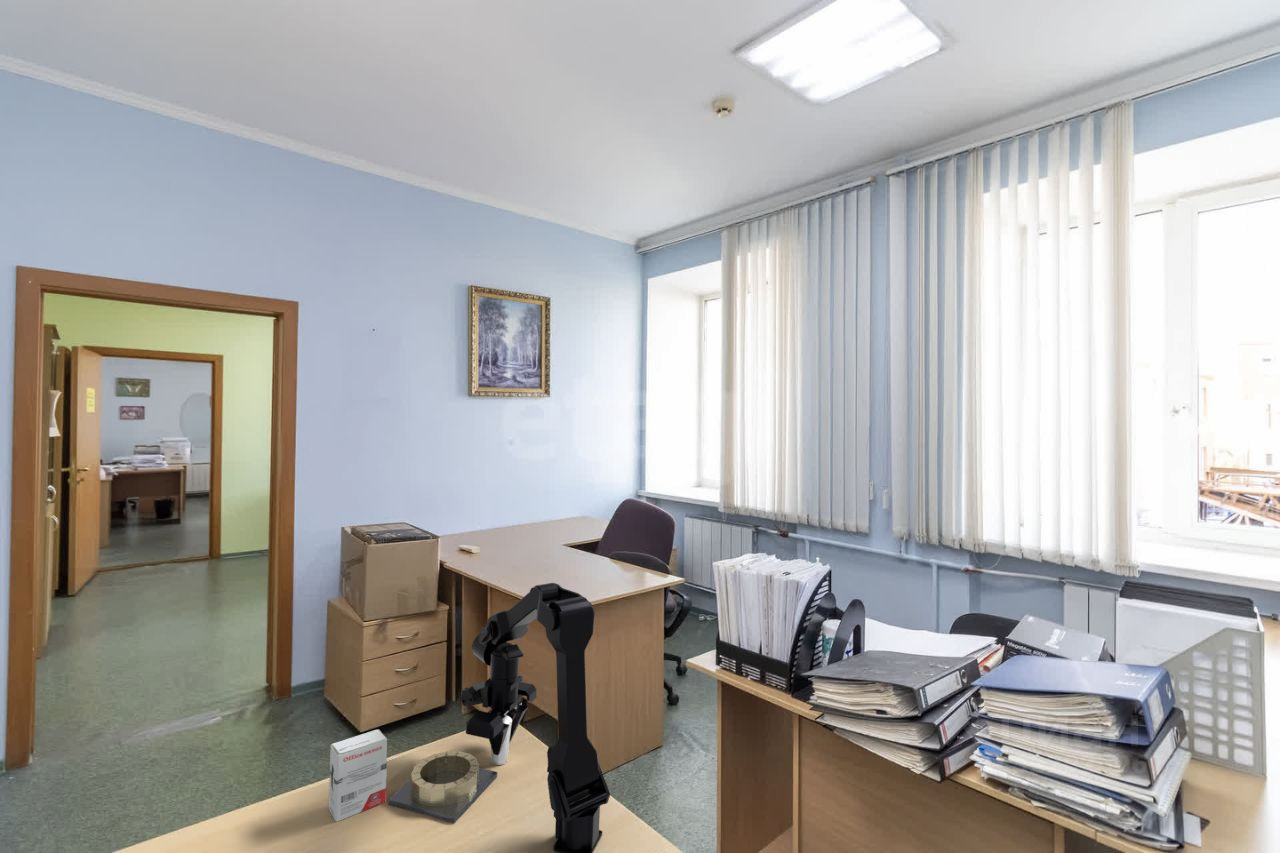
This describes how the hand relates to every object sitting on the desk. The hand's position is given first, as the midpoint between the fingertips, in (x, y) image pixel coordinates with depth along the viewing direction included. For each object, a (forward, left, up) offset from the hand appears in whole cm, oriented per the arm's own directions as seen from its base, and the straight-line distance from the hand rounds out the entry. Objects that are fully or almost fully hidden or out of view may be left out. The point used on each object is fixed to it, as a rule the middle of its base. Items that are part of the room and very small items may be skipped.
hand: (501, 749), depth 120 cm
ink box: (+17, +21, -3) cm, 27 cm away
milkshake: (0, 0, -3) cm, 3 cm away
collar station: (+5, +12, -2) cm, 13 cm away
